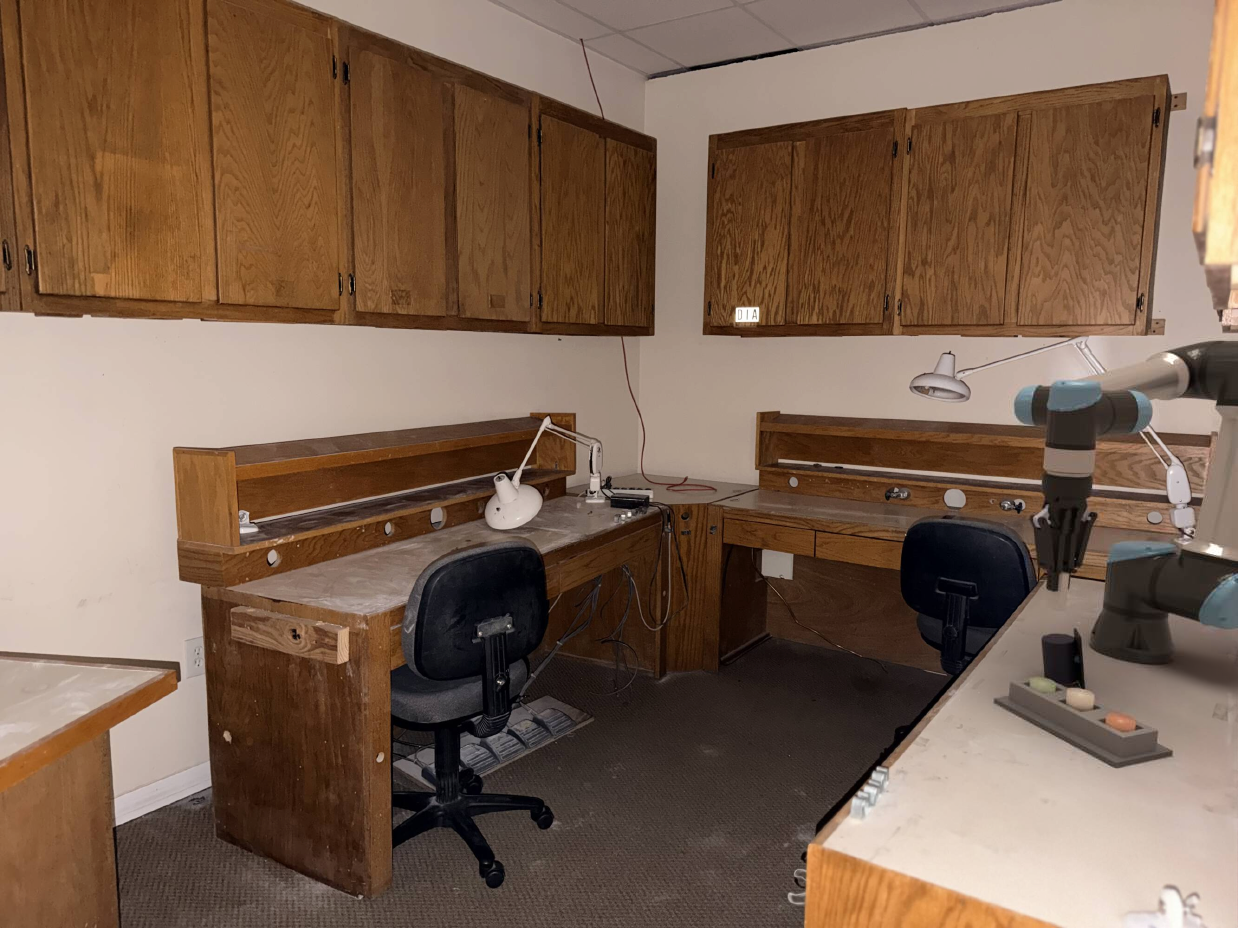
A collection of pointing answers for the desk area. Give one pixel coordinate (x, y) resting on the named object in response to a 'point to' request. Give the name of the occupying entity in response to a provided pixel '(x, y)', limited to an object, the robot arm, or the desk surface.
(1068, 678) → the speaker
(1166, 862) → the desk surface
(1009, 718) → the desk surface
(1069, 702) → the cream button
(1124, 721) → the terracotta button
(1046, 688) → the sage button
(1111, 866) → the desk surface
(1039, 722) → the control panel
